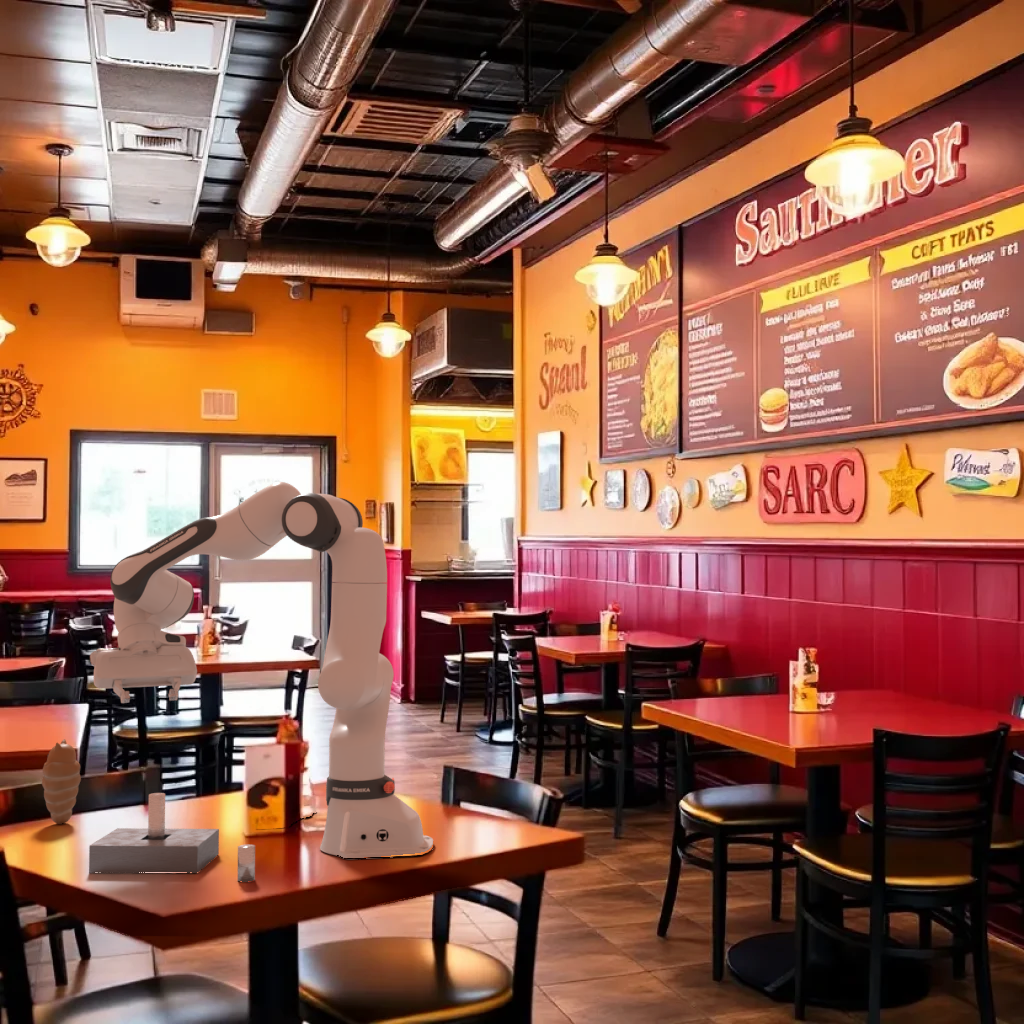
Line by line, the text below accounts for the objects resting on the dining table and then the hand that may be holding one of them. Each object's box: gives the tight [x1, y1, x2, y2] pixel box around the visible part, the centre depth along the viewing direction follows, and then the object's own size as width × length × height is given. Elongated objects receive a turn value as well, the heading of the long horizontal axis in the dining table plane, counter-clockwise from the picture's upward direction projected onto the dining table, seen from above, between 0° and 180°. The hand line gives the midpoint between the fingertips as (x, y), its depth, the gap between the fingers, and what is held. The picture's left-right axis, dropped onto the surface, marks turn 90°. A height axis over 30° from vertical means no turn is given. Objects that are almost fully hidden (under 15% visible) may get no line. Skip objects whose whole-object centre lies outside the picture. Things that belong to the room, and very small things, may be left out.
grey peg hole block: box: [88, 827, 220, 874], centre depth 219 cm, size 20×14×5 cm
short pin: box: [237, 844, 256, 883], centre depth 208 cm, size 3×3×6 cm
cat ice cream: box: [41, 739, 82, 825], centre depth 253 cm, size 9×8×18 cm
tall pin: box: [147, 792, 166, 840], centre depth 219 cm, size 3×3×13 cm
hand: (150, 699), depth 233 cm, fingers open, 8 cm apart
